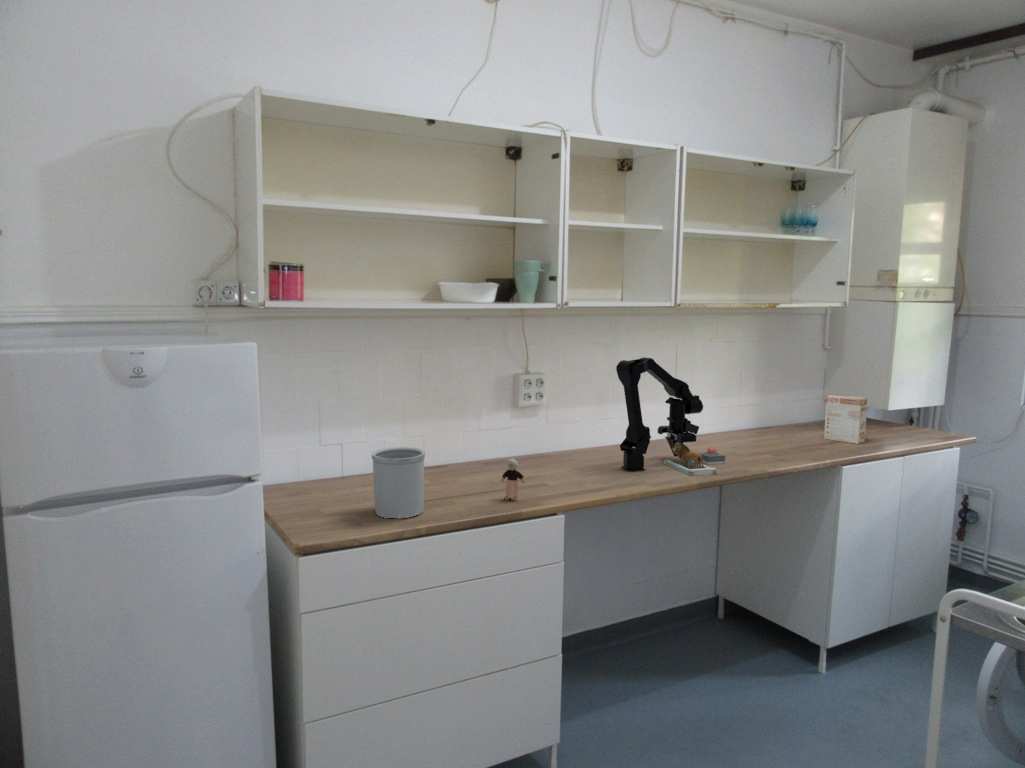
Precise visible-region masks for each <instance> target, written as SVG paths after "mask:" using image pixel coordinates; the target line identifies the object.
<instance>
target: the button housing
mask: <svg viewBox="0 0 1025 768" xmlns="http://www.w3.org/2000/svg"><path fill="white" fill-rule="evenodd" d="M699 453H700V454H701V456H702V462H703V464H707V465H719V464H720V465H721V464H726V463H725V462H726V455H725V454H721V453H719V452H717V451H716V455H707V451H706V452H703V451H702V452H699Z"/></svg>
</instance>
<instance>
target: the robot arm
mask: <svg viewBox="0 0 1025 768" xmlns="http://www.w3.org/2000/svg"><path fill="white" fill-rule="evenodd" d="M615 370H616V374H617V379H618V380H619V381H620V383H621V384H622V386H623V391H624V399H625V404H626V412H627V420H628V425H627V428H626V431H625V438H624V440H623V441H622V442H621V443H620V445H619V448H620V451H621V452H623V461H622V462H623V463H622V464H623V465H622V466H621V467H620V468H621V469H623V470H625V471H627V472H639V471H645V470H646V469H645V468H644V467H645V456H644V455H646V454H647V451H648V447H649V445H650V442H651V439H652V437H651V430H650V427H649V426H645V425H644V422H643V414H642V408H641V400H640V399H641V398H640V393H639V382H640V380H641V377H642V374H644V373H646V372H647V374H649V375H650V376H651V377H653V378H654V379H655V380H657V381H658V382H659V383H660V384H661V385H662V386H663V389H664V390H665V392H666V394H668V396H669V397H668V399H666V400H665V401H664V402H665V404H669V414H668V416H667V417H666V420H667V421H668V425H659V426H658V428H657V434H659V435H663V434H666V436H664V439H666V442H667V443H668V445H669V447H670V450H671V452H672V455H673V456H674V457H678V456H677V455H676V454H675V453H673V451H672V448H674V446H675V443H677V442H680V443H683V444H684V443H695V442H697V434H698V431H699V429H700V426H699V425H696V424H693V423H692V421H691V420H688V418H687V417H686V415H691V414H700V413H701V412H702V411H703V409H704V404H703V402H702V399H700V396H699V395H696V394H695V395H694V394H693V393H692V391H691V390H690V386H689V384H688V383H687V382H685V381H683V380H681V379H679V378H677V377H674V376H673V375H671V374H670V373H669V372H668V371H666V369H664V368H663V367H662V366H661V365H660V364H658V363H657V362H656V361H655V359H653V358H651V357H646V356H645V357H640V358H638V359H632V360H624V359H622V360H621V361H619V362H618V363H617V365H616V369H615Z"/></svg>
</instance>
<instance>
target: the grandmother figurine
mask: <svg viewBox="0 0 1025 768" xmlns="http://www.w3.org/2000/svg"><path fill="white" fill-rule="evenodd" d="M507 465H508V466H507V467H508V469H507V470H506V471H505V472H504V473H503V474H502V476H501V479H500V482H501V483H504V482H505V479H506V483H505V496H504V497H503V499H505V500H504V501H509V499H510V498H511V499H510V500H511V501H512V500H517V501H519V499H518V495H519V481H518V479H519V480H520V481H521V484H525V483H526V481H525V478H524V475H523V474H522V473H521V472H520V471H518V470H516V469H517V468H518V467H519V462H518V461H517V460H516V459H515V458H509V459H508V460H507Z"/></svg>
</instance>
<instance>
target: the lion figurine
mask: <svg viewBox="0 0 1025 768" xmlns="http://www.w3.org/2000/svg"><path fill="white" fill-rule="evenodd" d="M672 451H673V453H675V454H676V455H677V457H678V459H680V462H681V466H683V467H686V468H688V466H689V464H688V461H694V463H695V465H696V466H697V467H698V468H696V469H701V464H702V467H703V468H704V466H703V465H704V463H703V462H702V456H701V454H700V453H701V452H699V451H692V450H690V448H689V447H688V446H687V445H685V444H684V443H680V442H677V443H675V446H674V448H672V450H671V452H672ZM673 453H672V454H673Z"/></svg>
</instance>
